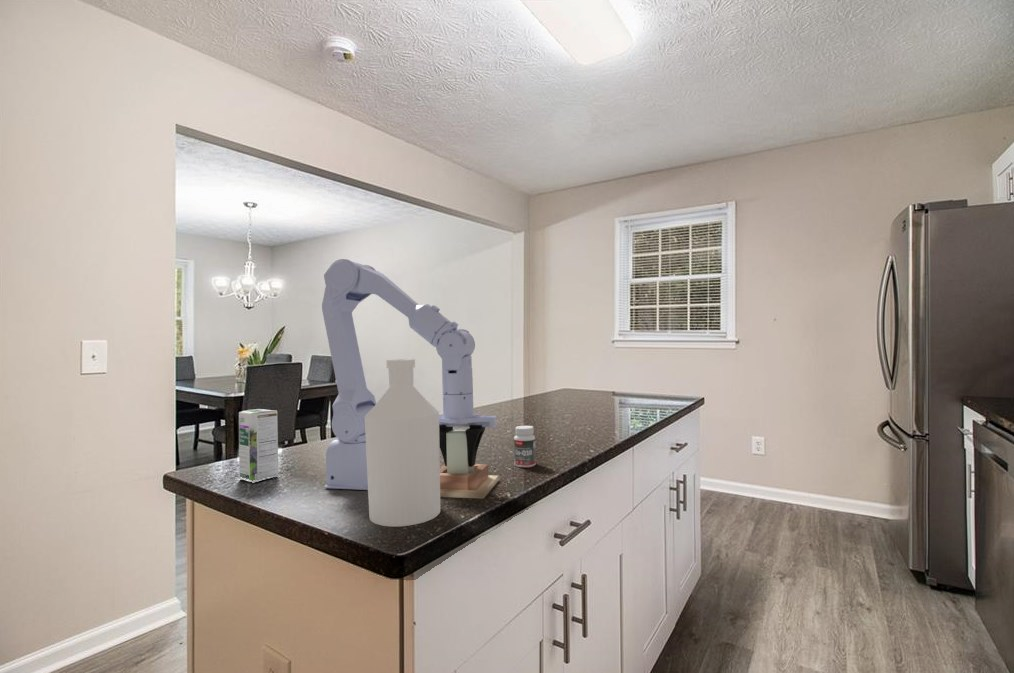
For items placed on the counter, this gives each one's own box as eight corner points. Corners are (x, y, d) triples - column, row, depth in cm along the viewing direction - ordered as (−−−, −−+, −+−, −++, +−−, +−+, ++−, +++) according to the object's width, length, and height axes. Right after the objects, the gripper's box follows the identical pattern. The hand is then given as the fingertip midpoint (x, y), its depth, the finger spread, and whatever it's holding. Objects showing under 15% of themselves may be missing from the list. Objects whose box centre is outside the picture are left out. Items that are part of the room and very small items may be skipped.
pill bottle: (513, 467, 106) (511, 429, 106) (516, 462, 111) (515, 425, 111) (534, 467, 105) (533, 428, 105) (537, 462, 110) (535, 425, 110)
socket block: (419, 495, 88) (419, 476, 88) (441, 478, 99) (440, 461, 99) (483, 498, 86) (482, 478, 86) (498, 480, 96) (498, 462, 96)
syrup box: (238, 480, 103) (236, 411, 103) (265, 473, 107) (264, 407, 108) (252, 484, 99) (250, 413, 99) (280, 477, 104) (278, 409, 104)
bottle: (410, 496, 88) (406, 358, 88) (457, 509, 80) (452, 358, 81) (352, 516, 79) (348, 361, 79) (398, 533, 71) (393, 361, 71)
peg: (447, 476, 91) (446, 433, 91) (454, 470, 95) (453, 429, 95) (467, 476, 90) (466, 433, 90) (473, 471, 94) (472, 429, 94)
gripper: (413, 395, 90) (415, 469, 90) (489, 395, 87) (491, 471, 87) (428, 391, 97) (430, 460, 97) (498, 391, 94) (501, 462, 94)
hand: (460, 465), depth 92 cm, fingers closed on peg, 4 cm apart
